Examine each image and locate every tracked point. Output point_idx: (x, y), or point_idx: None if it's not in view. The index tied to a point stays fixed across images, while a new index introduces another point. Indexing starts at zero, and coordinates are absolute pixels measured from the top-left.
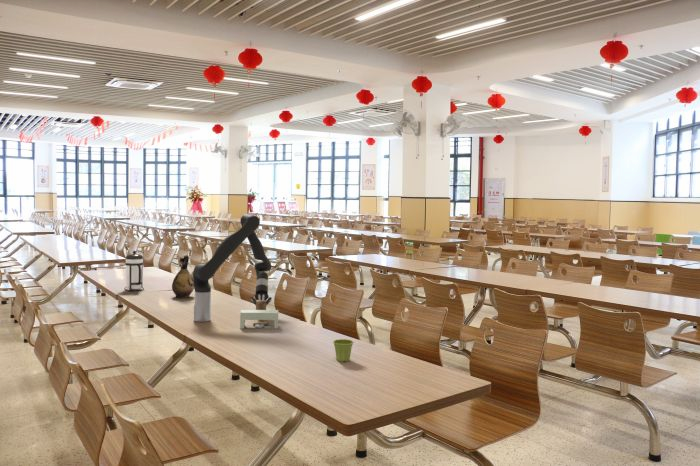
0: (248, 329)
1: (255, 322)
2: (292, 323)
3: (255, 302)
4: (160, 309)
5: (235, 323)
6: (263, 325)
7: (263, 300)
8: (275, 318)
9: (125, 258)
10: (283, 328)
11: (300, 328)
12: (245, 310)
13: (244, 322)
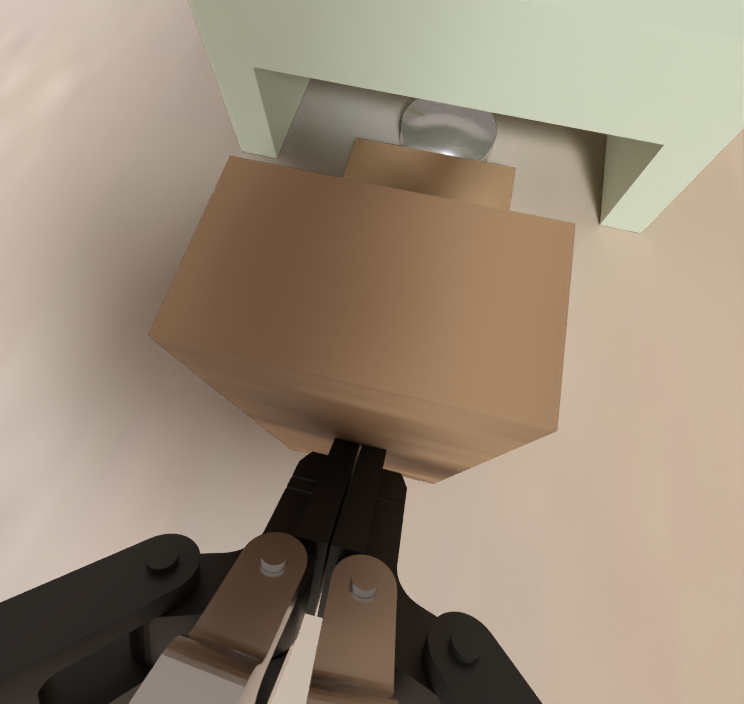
0: None
1: (485, 194)
2: (49, 198)
3: (517, 686)
4: None
5: (718, 342)
6: (409, 106)
7: (274, 310)
8: None
9: None
10: None
11: (87, 24)
12: (733, 3)
13: (627, 153)
